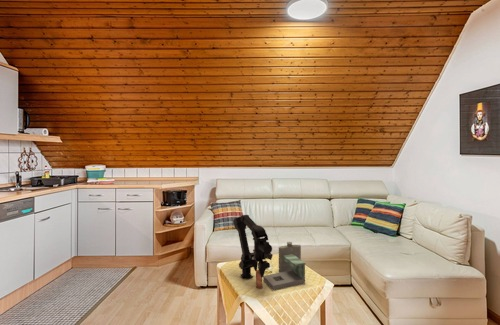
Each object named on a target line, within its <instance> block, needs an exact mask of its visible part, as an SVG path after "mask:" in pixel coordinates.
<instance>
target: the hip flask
mask: <svg viewBox="0 0 500 325" xmlns="http://www.w3.org/2000/svg"><path fill="white" fill-rule="evenodd" d="M291 254H293V255H295V256H296V257H298V258H299V259H301V258H302V246H301V244H293V242H292V241H287V242H286V245H281V246H279V247H278V273H280V272H285V271H290V270H292V266H290V265H289V264H288V263H287V262H285V261H284V260H283V256H286V255H291ZM301 260H302V259H301Z"/></svg>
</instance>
